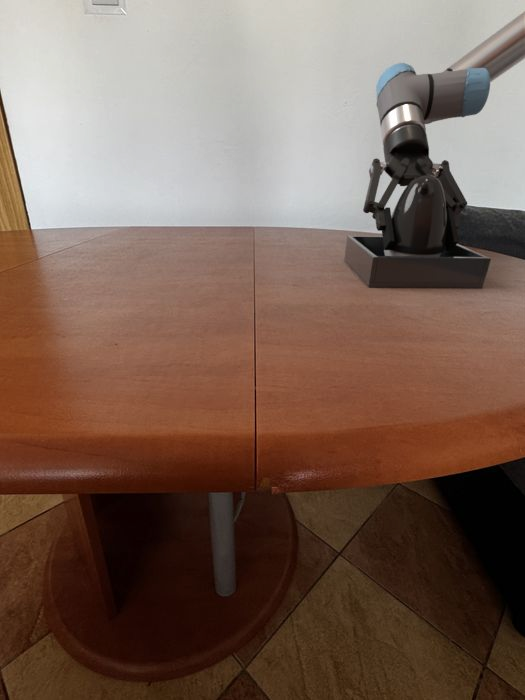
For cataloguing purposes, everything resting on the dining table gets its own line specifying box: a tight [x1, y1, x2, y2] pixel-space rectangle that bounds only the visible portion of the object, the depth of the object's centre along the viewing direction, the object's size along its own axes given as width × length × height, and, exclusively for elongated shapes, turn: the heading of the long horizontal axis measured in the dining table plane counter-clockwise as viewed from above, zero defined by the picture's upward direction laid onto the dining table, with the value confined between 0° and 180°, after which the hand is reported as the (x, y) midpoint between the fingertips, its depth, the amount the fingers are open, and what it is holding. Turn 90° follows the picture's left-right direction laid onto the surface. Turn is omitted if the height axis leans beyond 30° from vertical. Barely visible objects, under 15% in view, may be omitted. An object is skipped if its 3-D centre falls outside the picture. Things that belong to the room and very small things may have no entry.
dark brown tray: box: [343, 235, 492, 289], centre depth 66 cm, size 19×17×5 cm
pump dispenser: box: [383, 174, 447, 257], centre depth 64 cm, size 10×10×15 cm
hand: (420, 246), depth 63 cm, fingers closed on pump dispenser, 10 cm apart
